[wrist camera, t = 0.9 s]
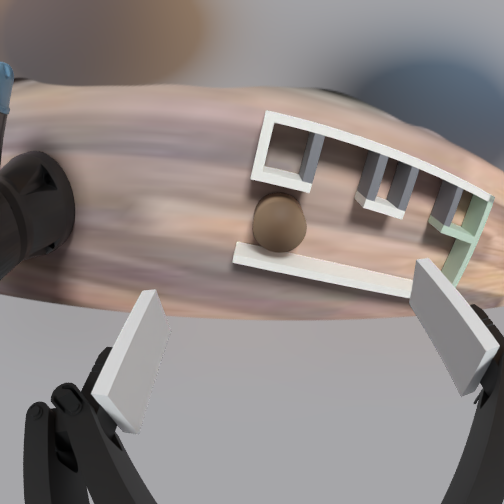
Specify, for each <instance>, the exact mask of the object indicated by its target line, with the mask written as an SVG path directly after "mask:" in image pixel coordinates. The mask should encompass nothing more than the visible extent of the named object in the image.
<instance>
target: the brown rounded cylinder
mask: <svg viewBox="0 0 504 504" xmlns="http://www.w3.org/2000/svg"><path fill="white" fill-rule="evenodd" d="M306 229H307V226H306V220H305V218H304V215H303V212H302V209H301V206H300V204H299V203H298V201H297V200H296V199H295V198H294V197H292V196H291V195H289V194H286V193H281V192H277V193H271V194H268V195H266V196H265V197H263V198H262V199H261V200H260V201H259V203H258V204H257V206H256V209H255V213H254V221H253V233H254V236H255V239H256V240H257V242H258V243H259V244H260V245H261V246H262V247H263V248H265V249H267V250H269V251H272V252H278V253H281V252H287V251H290V250H292V249H294V248H296V247H297V246H298V245H299V244H300V243H301V242H302V241H303V239H304V237H305V234H306Z"/></svg>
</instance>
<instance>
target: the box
mask: <svg viewBox="0 0 504 504" xmlns="http://www.w3.org/2000/svg"><path fill="white" fill-rule="evenodd" d="M274 123H279V124H283V125H287V126H291V127H295V128H299V129H303V130H306V131H310V133H309V137H308V141H307V145H306V149H305V152H304V156H303V160H302V164H301V168H300V171H299V174H296V173H292V172H288V171H284V170H280V169H275V168H271V167H267V166H264V164H265V160H266V155H267V151H268V147H269V143H270V138H271V134H272V130H273V126H274ZM325 136H328V137H331V138H334V139H338V140H341V141H344V142H347V143H350V144H353V145H356V146H359V147H362V148H365V149H368V150H369V152H368V156H367V159H366V162H365V166H364V169H363V172H362V176H361V179H360V182H359V185H358V188H357V192H356V195H355V199H356V201H357V202H358V203H359V204H360V205H361V206H362V207H363V208H366V209H369V210H372V211H376V212H379V213H382V214H386V215H389V216H392V217H395V218H398V219H402V218H403V216H404V213H405V210H406V208H407V205H408V202H409V199H410V196H411V193H412V191H413V188H414V185H415V182H416V179H417V176H418V172H419V169H421V170H423V171H425V172H428V173H430V174H432V175H434V176H437V177H439V178H441V179H443V181H442V184H441V187H440V190H439V193H438V196H437V199H436V201H435V204H434V207H433V210H432V212H431V215H430V218H429V220H428V222H429V223H430V224H431V225H432V226H433V227H435V228H436V229H437V230H438V231H439V232H441V233H443V234H446V235H449V236H452V237H454V238H456V240H455V242H454V245H453V247H452V249H451V251H450V253H449V256H448V258H447V260H446V262H445V264H444V266H443V268H442V270H441V272H442V273H443V274H444V276H445V277H446V278H447V279H448V280H449V281H450V282H451V284H452V285H453V286H454V287H455V288H456V286H457V284H458V282H459V280H460V278H461V276H462V274H463V272H464V270H465V268H466V266H467V264H468V262H469V260H470V258H471V256H472V254H473V251H474V249H475V247H476V245H477V242H478V240H479V238H480V235H481V233H482V231H483V228H484V226H485V223H486V221H487V218H488V215H489V213H490V210H491V207H492V204H493V202H494V199H495V197H494V196H492V195H491V194H489V193H487V192H485V191H483V190H482V189H480V188H478V187H476V186H474V185H472V184H470V183H468V182H466V181H465V180H463V179H461V178H459V177H457V176H455V175H453V174H450V173H448V172H446V171H444V170H442V169H440V168H438V167H436V166H433V165H431V164H429V163H427V162H424V161H422V160H420V159H418V158H415V157H413V156H410V155H408V154H406V153H403V152H401V151H398V150H396V149H393V148H390V147H388V146H385V145H383V144H380V143H377V142H374V141H372V140H369V139H366V138H363V137H360V136H357V135H354V134H351V133H348V132H345V131H342V130H339V129H336V128H332V127H329V126H326V125H322V124H319V123H315V122H312V121H308V120H304V119H300V118H297V117H293V116H289V115H285V114H280V113H276V112H272V111H267V110H266V113H265V117H264V122H263V126H262V130H261V135H260V139H259V143H258V148H257V152H256V156H255V161H254V165H253V170H252V174H251V179H252V180H256V181H261V182H265V183H270V184H274V185H278V186H283V187H287V188H291V189H295V190H299V191H303V192H307V193H310V189H311V186H312V182H313V179H314V175H315V171H316V168H317V164H318V161H319V157H320V153H321V150H322V146H323V142H324V138H325ZM389 157H390V158H393V159H396V160H398V161H399V162H398V166H397V169H396V172H395V175H394V178H393V181H392V184H391V188H390V191H389V193H388V196H387V199H383V198H380V197H377V193H378V190H379V187H380V183H381V180H382V177H383V174H384V171H385V168H386V164H387V161H388V158H389ZM463 189H464V190H466V191H468V192H470V193H472V194H473V196H472V199H471V202H470V205H469V207H468V210H467V213H466V215H465V218H464V221H463V223H462V226H458V225H456V224H453V223H451V222H452V219H453V217H454V214H455V212H456V209H457V206H458V204H459V201H460V198H461V195H462V192H463ZM232 263H237V264H241V265H246V266H251V267H256V268H260V269H265V270H270V271H275V272H280V273H284V274H289V275H294V276H299V277H304V278H309V279H314V280H319V281H323V282H328V283H333V284H338V285H343V286H348V287H353V288H359V289H364V290H369V291H374V292H379V293H384V294H389V295H395V296H400V297H405V298H410V295H411V290H412V284H413V280H410V279H406V278H402V277H397V276H393V275H388V274H384V273H379V272H375V271H370V270H366V269H361V268H357V267H352V266H348V265H343V264H339V263H334V262H330V261H325V260H321V259H316V258H312V257H307V256H303V255H298V254H293V253H289V252H281V253H278V252H272V251H269V250H267V249H265V248H263V247H261V246H257V245H252V244H247V243H243V242H238V241H237V243H236V248H235V252H234V257H233V262H232Z"/></svg>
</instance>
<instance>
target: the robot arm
mask: <svg viewBox="0 0 504 504" xmlns="http://www.w3.org/2000/svg"><path fill="white" fill-rule="evenodd" d="M13 81H14V73H13V70H12V68H11V67H10V65H8V64H7V63H4V62H0V164H1V154H2V145H3V137H4V131H5V125H6V119H7V114H9V111H10V109H9V103H10V97H11V91H12V86H13ZM74 214H75V209H74V199H73V194H72V190H71V187H70V184H69V181H68V179H67V177H66V175H65V173H64V171H63V170H62V168H61V167H60V166H59V164H58V163H57V162H56V161H55V160H54V159H53V158H51V157H50V156H49V155H47V154H45V153H42V152H39V151H30V152H27V153H24V154H21V155H18V156H16V157H14V158H13V159H11V160H10V161H9V162H8V163H7V164H6V165H5V166H4V167H3V168H2V169H1V170H0V280H1V279H2V278H3V277H4V276H5V275H7V274H8V273H9V272H10V271H11V270H12V269H13V268H14V267H15V266H16V265H18V264H19V263H20V262H21V261H23V260H26V259H30V258H34V257H38V256H41V255H45V254H48V253H50V252H52V251H54V250H55V249H57V248H58V247H59V246H60V245H61V244H63V243H64V242H65V241H66V239H67V238H68V236H69V235H70V233H71V230H72V227H73V223H74ZM409 304H410V306H411V308H412V309H413V311H414V312H415V314H416V316H417V317H418V319H419V321H420V322H421V324H422V326H423V327H424V329H425V331H426V332H427V334H428V336H429V338H430V339H431V341H432V343H433V344H434V346H435V348H436V350H437V351H438V353H439V355H440V357H441V359H442V361H443V363H444V364H445V366H446V368H447V370H448V372H449V374H450V376H451V378H452V380H453V382H454V384H455V386H456V388H457V390H458V392H459V394H460V396H461V397H462V396H464V395H467V394H469V393H472V392H474V391H475V390H476V388H477V387H478V385H479V383H481V385H482V387H483V389H482V390H481V392H480V393H479V395H478V397H477V398H476V400H475V402H474V404H476V403H477V401H478V400H479V401H478V405H477V409H476V413H475V416H474V420H473V423H472V427H471V430H470V433H469V436H468V440H467V442H466V446H465V448H464V451H463V454H462V457H461V459H460V462H459V465H458V467H457V469H456V472H455V474H454V477H453V479H452V481H451V484H450V486H449V488H448V490H447V492H446V495H445V497H444V499H443V501H442V503H441V504H502V502H503V499H504V337H503V335H502V334H501V333H500V331H499V330H498V329H497V328H496V326H495V325H493V322H492V321H491V320H490V319H489V318H488V316H487V315H486V313H485V312H484V311H483V310H482V309H481V308H479V307H478V306H476V305H475V304H473V305H469V304H468V303H467V302H466V300H465V299H464V298H463V297H462V295H461V294H460V293H459V292H458V291H457V289H456V288H455V287H454V286H453V285H452V284H451V282H450V281H449V280H448V279H447V278H446V277H445V276H444V274H443V273H442V272H441V271H440V270H439V269H438V268H437V267H436V266H435V264H434V263H433V262H432V261H431V260H430V259H429V258H425V259H418V260H416V265H415V272H414V278H413V284H412V290H411V295H410V300H409ZM170 333H171V329H170V326H169V323H168V321H167V318H166V315H165V313H164V310H163V308H162V305H161V302H160V299H159V297H158V294H157V291H156V290H145V291H142V293H141V295H140V296H139V298H138V300H137V302H136V304H135V306H134V307H133V309H132V311H131V313H130V315H129V317H128V319H127V321H126V323H125V324H124V326H123V328H122V330H121V332H120V334H119V336H118V338H117V340H116V342H115V344H114V346H113V347H106V348H105V349H104V350H103V351H102V352H101V354H100V355H99V356H98V358H97V360H96V362H95V365H94V366H93V368H92V372H90V374H89V376H88V378H87V380H86V382H85V385H84V386H83V388H82V391H81V392H80V390H79V389H78V388H77V387H76V385H74V384H73V383H64V384H61V385H60V386H58V387H57V388H56V389H55V390H54V391H53V393H52V396H51V402H52V403H53V404H54V406H55V407H56V408H53V409H50V408H49V407H48V406H47V404H46V403H44V402H36V403H34V404H33V405H32V406H30V408H29V409H28V411H27V414H26V422H25V434H24V456H23V457H24V458H23V461H24V462H23V474H24V475H23V477H24V499H25V504H90V503H89V498H88V493H87V488H88V491H89V493H90V495H91V497H92V500H93V502H94V504H157V503H156V501H155V500H154V498H153V497H152V495H151V493H150V492H149V490H148V489H147V487H146V485H145V484H144V482H143V480H142V479H141V477H140V475H139V474H138V472H137V470H136V469H135V467H134V465H133V463H132V462H131V460H130V458H129V456H128V454H127V452H126V450H125V448H124V446H123V444H122V442H121V440H120V438H119V436H118V435H117V434H116V432H115V430H116V427H117V426H118V427H119V428H120V429H121V430H122V431H123V432H126V433H133V434H139V433H140V429H141V426H142V422H143V419H144V415H145V412H146V409H147V405H148V402H149V399H150V395H151V392H152V389H153V386H154V383H155V379H156V376H157V373H158V370H159V367H160V364H161V361H162V358H163V354H164V351H165V348H166V345H167V342H168V339H169V336H170ZM86 486H87V487H86Z"/></svg>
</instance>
